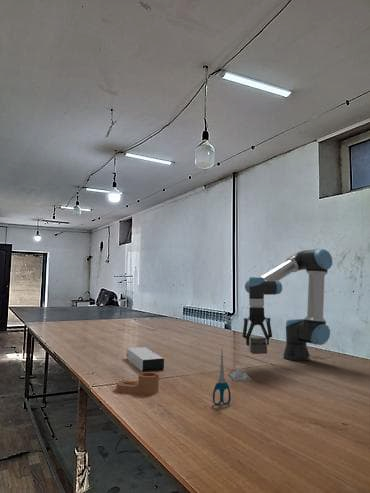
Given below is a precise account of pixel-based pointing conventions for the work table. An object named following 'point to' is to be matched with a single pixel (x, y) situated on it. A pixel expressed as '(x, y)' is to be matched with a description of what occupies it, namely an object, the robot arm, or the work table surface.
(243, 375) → the mounting plate
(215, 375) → the work table surface
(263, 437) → the work table surface
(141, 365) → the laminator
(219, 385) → the scissors
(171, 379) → the work table surface
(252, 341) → the knob
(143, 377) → the bracket
